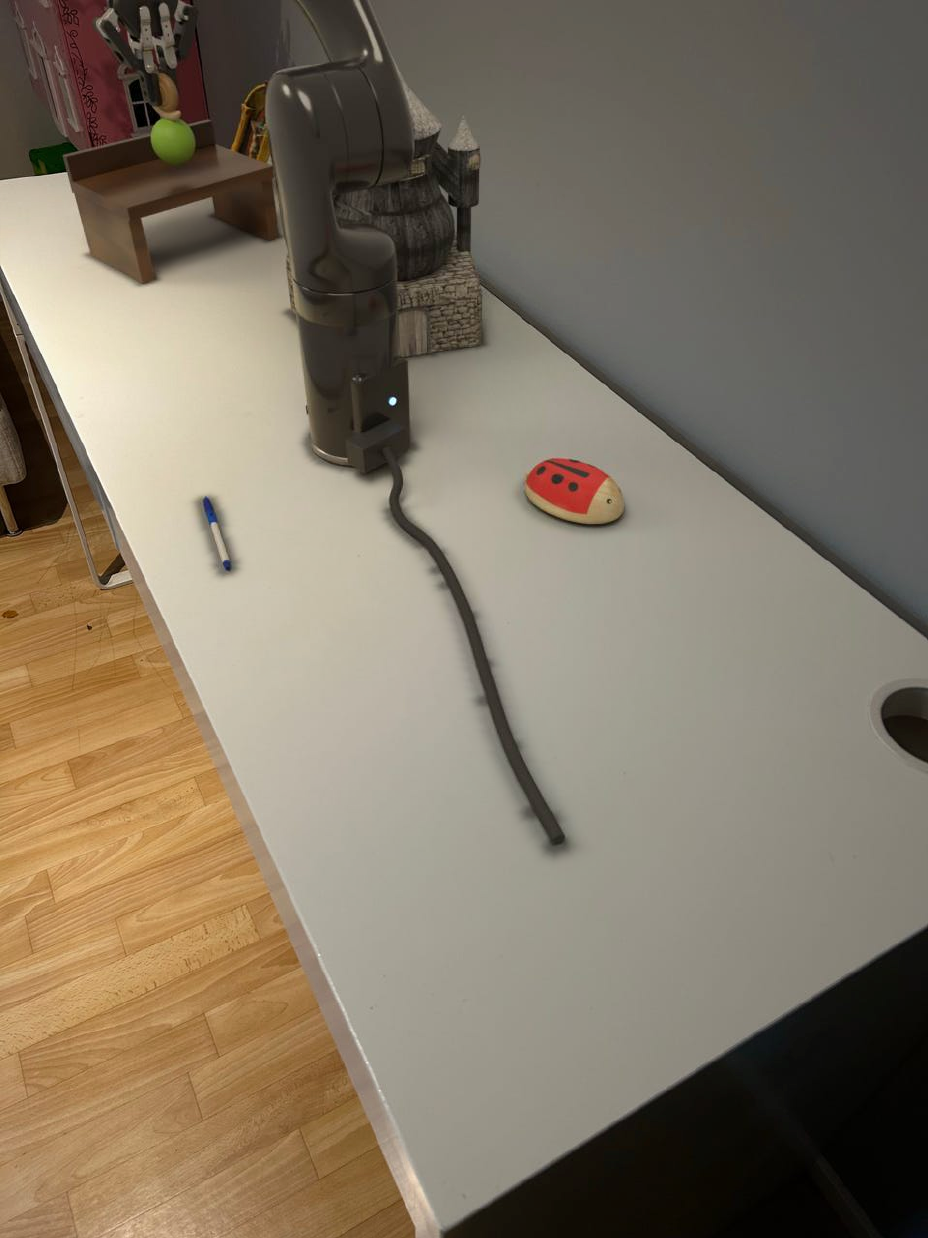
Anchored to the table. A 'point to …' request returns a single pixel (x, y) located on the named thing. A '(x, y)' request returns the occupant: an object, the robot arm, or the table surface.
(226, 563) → the ballpoint pen
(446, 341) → the miniature castle
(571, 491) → the ladybug figurine
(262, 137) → the shrine
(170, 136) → the snail figurine
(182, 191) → the miniature wooden bench
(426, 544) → the robot arm
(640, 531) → the table surface
